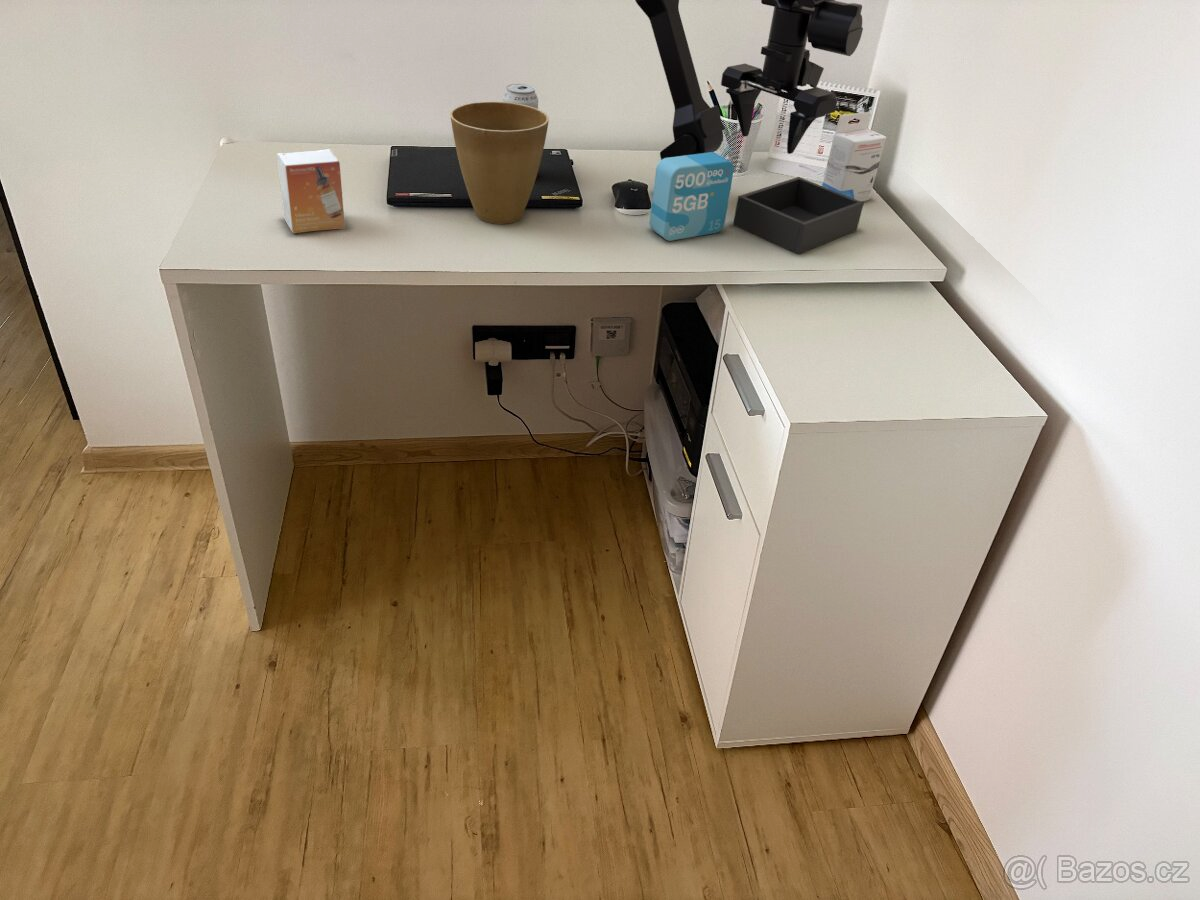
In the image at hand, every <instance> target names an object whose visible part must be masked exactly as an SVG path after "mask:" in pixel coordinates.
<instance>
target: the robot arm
mask: <svg viewBox="0 0 1200 900" xmlns="http://www.w3.org/2000/svg"><path fill="white" fill-rule="evenodd" d="M634 1H635V3H636V5H637V6H638V7H639V8H640V9H641V11H642V12H643V13H644V15H646V17H647V18H648V20H649V23H650V26H651V29H652V33H653V37H654V39H655V43H656V47H657V50H658V53H659V57H660V61H661V65H662V67H663V68H662V69H663V71H664V74H665V79H666V82H667V86H668V89H669V93H670V96H671V99H672V102H673V106H674V112H673V113H674V114H673V121H672V134H673V135H672V136H673V142H671V143H670V144H669V145H667V146H665V147H664V148H663V149H662V150H661V151H660V152H659V156H660V161H661V160H662V159H664V158H669V157H677V156H685V155H693V154H701V153H709V152H714V153H716V152H717V151H718V150H719V149H720V148H721V146H722V143H723V142H724V132H723V131H724V130H726V126H725V125H724V124H723V121H722V117H721V111H720V108H719V105H714V106H712V107H711V106H710V105H709V104H708V103H707V102H706V100H705V99H704V96H703V94H702V90H701V87H700V83H699V80H698V79H699V78H698V76H697V73H696V69H695V64H694V61H693V57H692V54H691V51H690V46H689V43H688V39H687V36H686V32H685V29H684V24H683V22H682V18H681V14H680V9H679V4H680V0H634ZM760 2H761V4H762V5H765V6H770V7H773V12H772V17H771V23H770V27H769V33H768V40H767V45H765V46H761V49H760V55H763V56H764V61H763V62H764V63H763V65H762V68H760V67H757V66H754V65H751V64H748V63H741V64H736V65H729V66H726V68H725V69H724V71H723V72H722V74H721V80H720V86H722V87H724V88H726V89H725V93H727V94H728V95H729V97H730V100H731V102H732V104H733V109H734V111H735V114H736V118H737V121H738V124H739V128H740V133H741V135H742V137H748V136H749V134H750V130H751V128H752V122H753V116H754V111H755V105H756V101H757V99H758V97H759V95H760V93H761V92H765V93H767V94H771V95H774V96H776V97H779V98H783V99H785V100H789V101H791V102H793V108H794V110H795V111H791V112H790V114H789V125H788V131H787V133H788V134H787V142H786V152H787V154H788V155H791V154H793V153H794V152H795V150H796V148H797V147H798V145H799V144H800V142H801V140H802V139H803V137H804V135H805V134H806V132H807V130H808V129H809V128H810V126H811V125H812V124H813V123H814V121H815V120H816V119H819V118H822V117H826V115H830V114H833V113H836V109H837V104H838V98H837V95H836V92H833V91H830V90H827V89H824V88H821V87H817V86H818V84H819V83H820V79H821V77H822V74H823V73H824V70H825V69H824V68H825V67H822V66H821V65H819V64H816V63H815V62H813V61H811V60H810V57H811V52H810V49H806V47H807V43H810V44H811V47H812V48H813V49H816V50H820V51H825V52H829V53H833V54H838V55H842V56H846V57H851V56H852V55H853V54H854V53H855V51H856V50H857V48H858V46H859V43H860V41H861V38H862V35H863V30H864V28H863V16H862V11H863V10H862V9H863V5H862V4H861V3H855V2H851V3H847V2H843V1H840V0H839V1H838V0H760ZM807 85H808V86H809V87H810V88H806V89H800V88H798V87H801V88H802V87H806V86H807Z"/></svg>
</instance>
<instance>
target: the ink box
mask: <svg viewBox="0 0 1200 900" xmlns="http://www.w3.org/2000/svg"><path fill="white" fill-rule="evenodd" d="M871 112H872V111H871ZM871 112H870V111H865V112H863V111H862V112H856V113H848V114H841V115H840V116H839V118H838V122H837V125H836V129H835V133H834V134H833V139H832V143H831V147H830V150H829V155H828V159H827V164H826V167H825V172H824V176H823V180H822V184H821V186H823V187H825V188H828V189H830V190H833V191H835V192H838V193H840V194H843V195H845V196H848V197H850V198H853V199H855V200H858V201H860V202H865V201H866V202H867V201H870V197H871V194H872V191H873V187H874V184H875V180H876V176H877V173H878V169H879V167H880V163H881V159H882V155H883V152H884V148H885V145H886V141H887V136H886V135H883V134H881V133H879V132H876V131H874V130H872V129H870V128H869V123H870V121H871V118H872V114H871ZM854 119H855V120H856V121H857V120H859V121H858V122H855V123H849V122H850V121H853V120H854Z"/></svg>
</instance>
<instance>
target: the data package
mask: <svg viewBox="0 0 1200 900" xmlns="http://www.w3.org/2000/svg"><path fill="white" fill-rule="evenodd" d="M734 167H735V166H734V164H733V162H731V161H730V160H729V159H727V158H725V157H723V156H722V155H720V154H718V153H717V152H709V153H701V154H693V155H685V156H677V157H669V158H664V159H662V160H661V159H660V160H659V162H658V163H657V164H656V168H655V175H654V181H653V183H654V184H653V192H652V200H651V207H650V216H649V228H650V229H651V230H652V231H653V232H655V233H656V234H658V235H659V236H660V237H662V239H664V240H666V241H669V242H672V241H678V240H684V239H688V238H689V239H690V238H697V237H700V236H707V235H712V234H717V233H719V232H720V231H721V230H722V229H723V228H724V226H725V224H726V218H727V212H728V207H729V200H730V195H731V189H732V182H733V177H734V171H735V168H734Z"/></svg>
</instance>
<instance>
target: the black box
mask: <svg viewBox="0 0 1200 900" xmlns="http://www.w3.org/2000/svg"><path fill="white" fill-rule="evenodd" d="M864 204H865V203H864V201H861V202H860V201H858V200H855V199H853V198H850V197H848V196H845V195H843V194H840V193H838V192H835V191H833V190H830V189H828V188H825V187H823V186H822V185H821V184H818V183H815V182H812V181H810V180H807V179H804V178H802V177H800V176H797V177H793V178H790V179H787V180H784V181H781V182H778V183H774V184H772V185H769V186H766V187H762V188H759V189H756V190H753V191H750V192H747V193H744V194H741V195H738V196H737V202H736V207H735V211H734V218H733V222H732V225H733V226H735V227H738V228H739V229H742V230H744V231H746V232H748V233H750V234H752V235H755V236H757V237H759V238H761V239H763V240H766V241H768V242H770V243H772V244H774V245H777V246H779V247H780V248H781V247H782V248H783V249H786V250H788V251H790V252H792V253H795V254H797V255H800V254H802V253H805V252H808V251H810V250H813V249H815V248H817V247H820V246H822V245H825V244H827V243H830V242H832V241H836V240H837V239H840V238H842V237H845V236H848V235H850V234H852V233H855V232H857V230H858V226H859V222H860V219H861V215H862V212H863V208H864Z"/></svg>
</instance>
